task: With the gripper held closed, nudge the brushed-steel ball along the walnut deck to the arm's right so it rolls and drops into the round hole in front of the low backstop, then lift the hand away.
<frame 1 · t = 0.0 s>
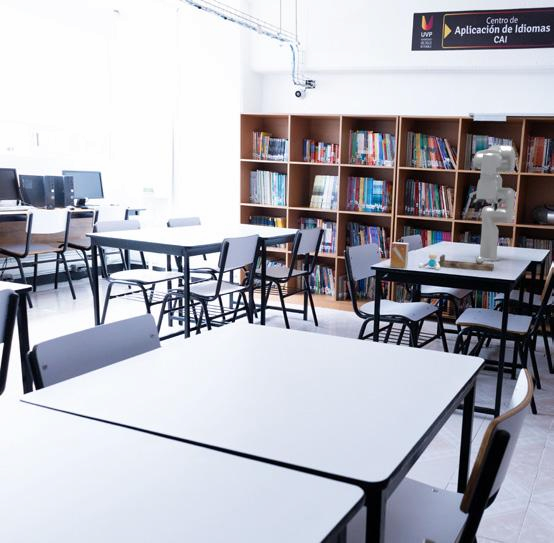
hand: (485, 210, 345), 31 cm above the table, fingers open, 9 cm apart
molecule model: (433, 269, 349), on the table
small box: (398, 267, 349), on the table
ball: (479, 260, 352), point 5 cm above the table, touching deck
deck: (465, 267, 356), on the table
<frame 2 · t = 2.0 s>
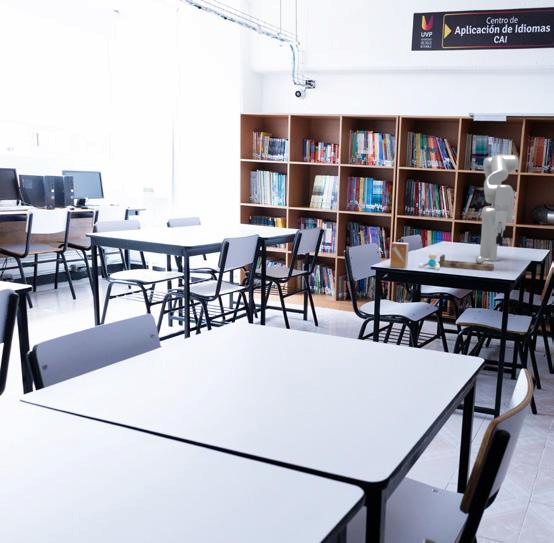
hand: (499, 243, 347), 14 cm above the table, fingers closed
nothing on the table moved.
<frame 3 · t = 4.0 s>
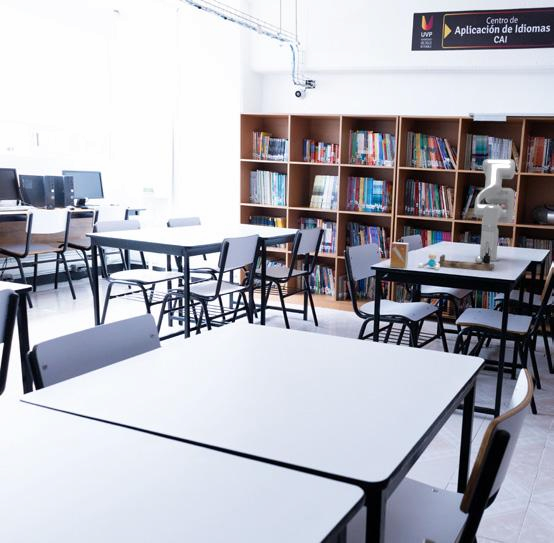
hand: (486, 263, 351), 3 cm above the table, fingers closed
ball: (479, 260, 352), point 5 cm above the table, touching deck, gripper
everything else where it was.
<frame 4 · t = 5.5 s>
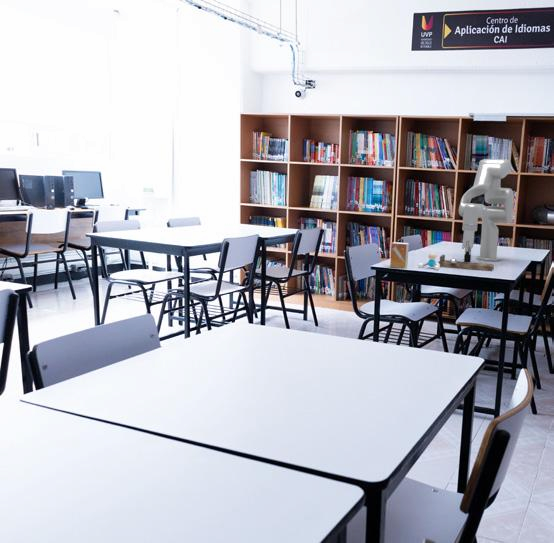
hand: (467, 261, 355), 3 cm above the table, fingers closed
ball: (453, 262, 358), point 2 cm above the table, tilted 27°
everything else where it was.
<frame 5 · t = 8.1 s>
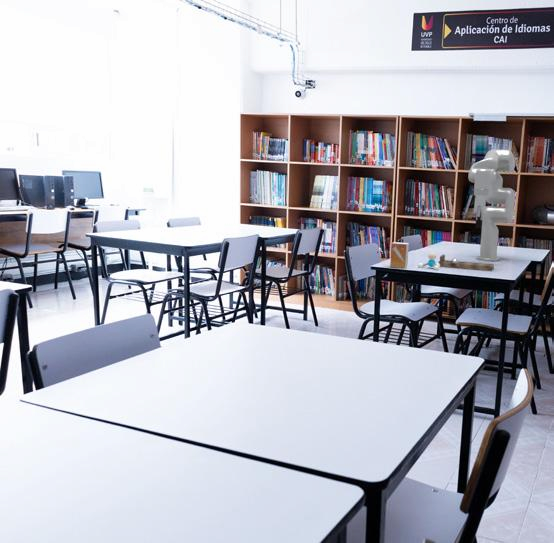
hand: (478, 227, 350), 22 cm above the table, fingers closed
nothing on the table moved.
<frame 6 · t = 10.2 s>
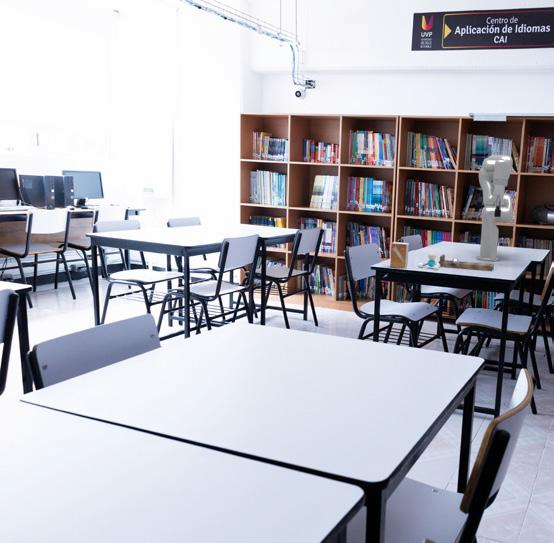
hand: (497, 216, 362), 27 cm above the table, fingers closed
ball: (455, 262, 358), point 2 cm above the table, tilted 35°
everything else where it was.
at the end: ball 0.8 cm from the target spot in the deck, point 2.2 cm above the deck's base; ball point 2.2 cm above the table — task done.
